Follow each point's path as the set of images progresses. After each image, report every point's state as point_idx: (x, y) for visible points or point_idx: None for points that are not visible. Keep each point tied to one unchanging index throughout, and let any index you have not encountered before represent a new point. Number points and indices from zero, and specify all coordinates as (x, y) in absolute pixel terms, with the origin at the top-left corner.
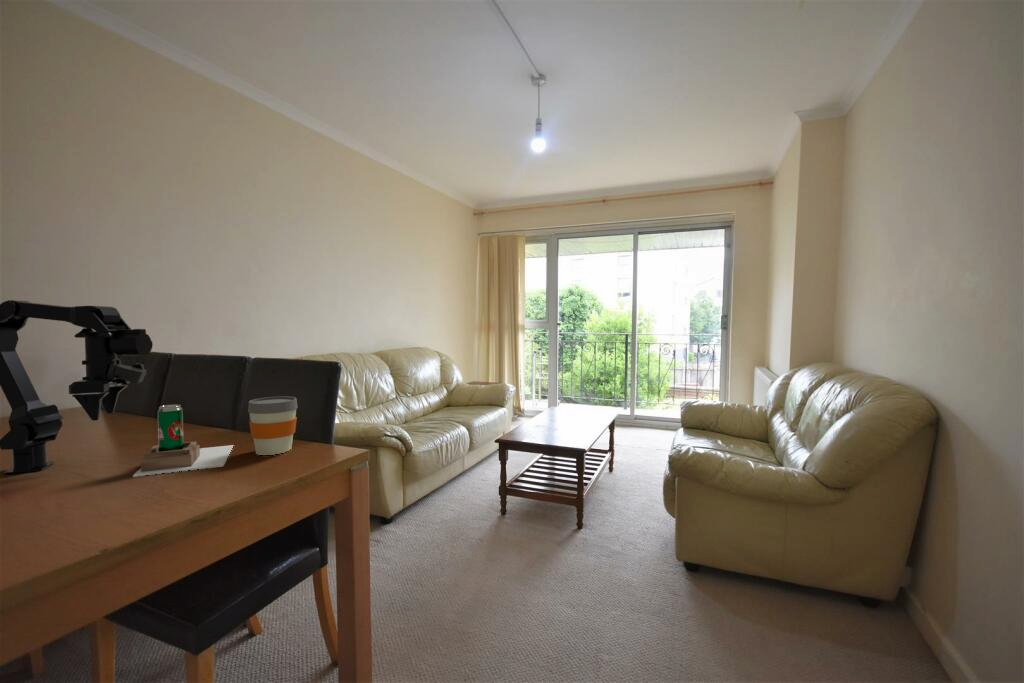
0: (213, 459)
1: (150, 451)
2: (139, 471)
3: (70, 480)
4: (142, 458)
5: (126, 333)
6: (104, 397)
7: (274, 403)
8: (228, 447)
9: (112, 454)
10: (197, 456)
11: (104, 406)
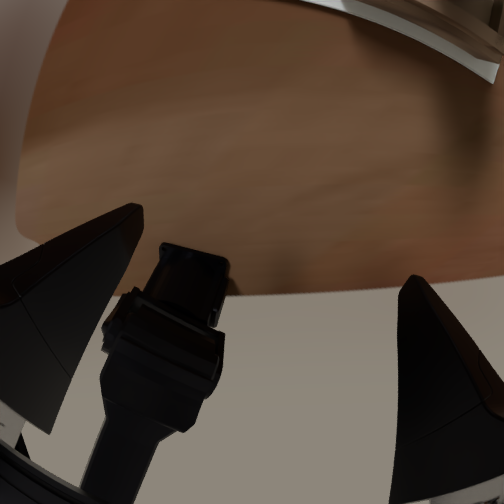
0: None
1: (480, 25)
2: (467, 59)
3: (391, 203)
4: (485, 53)
5: None
6: (75, 340)
7: None
8: None
9: (121, 128)
10: None
11: (117, 281)
